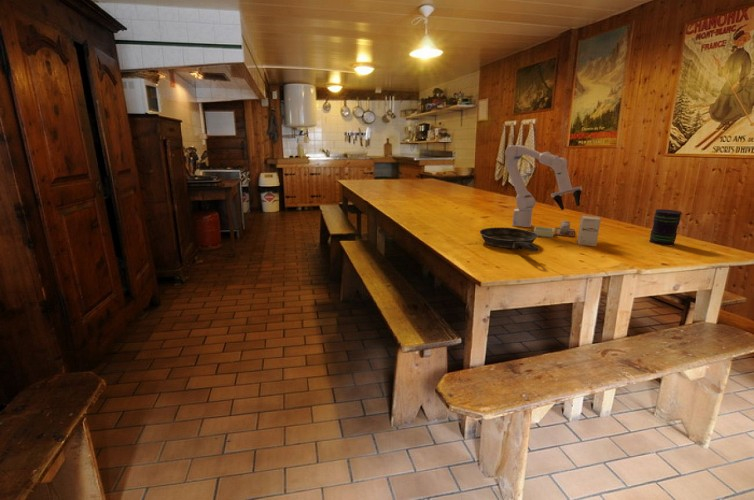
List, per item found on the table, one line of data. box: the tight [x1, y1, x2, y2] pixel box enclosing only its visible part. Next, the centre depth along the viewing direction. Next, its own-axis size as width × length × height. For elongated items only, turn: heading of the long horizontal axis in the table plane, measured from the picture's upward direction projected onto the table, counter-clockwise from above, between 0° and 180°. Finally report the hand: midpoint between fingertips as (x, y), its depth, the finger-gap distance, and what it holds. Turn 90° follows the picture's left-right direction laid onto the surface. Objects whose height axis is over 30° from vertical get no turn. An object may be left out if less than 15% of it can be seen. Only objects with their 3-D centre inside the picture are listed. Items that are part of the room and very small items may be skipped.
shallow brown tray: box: [553, 226, 575, 238], centre depth 204 cm, size 9×16×1 cm, turn 155°
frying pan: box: [479, 226, 539, 252], centre depth 173 cm, size 44×25×7 cm, turn 179°
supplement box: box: [576, 214, 602, 247], centre depth 181 cm, size 7×7×13 cm
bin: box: [532, 226, 555, 239], centre depth 199 cm, size 9×9×3 cm
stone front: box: [560, 224, 571, 235], centre depth 199 cm, size 4×4×4 cm
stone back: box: [560, 220, 571, 229], centre depth 207 cm, size 4×4×4 cm
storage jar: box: [649, 209, 682, 247], centre depth 184 cm, size 10×10×15 cm
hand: (570, 208), depth 198 cm, fingers open, 7 cm apart
